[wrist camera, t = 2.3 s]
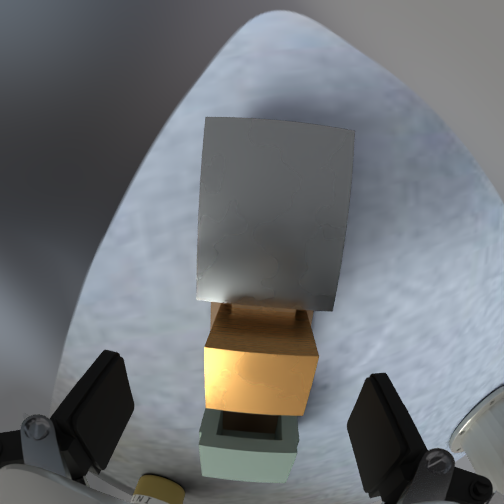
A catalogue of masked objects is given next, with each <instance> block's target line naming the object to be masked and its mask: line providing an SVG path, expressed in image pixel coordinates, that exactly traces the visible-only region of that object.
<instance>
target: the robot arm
mask: <svg viewBox="0 0 504 504" xmlns="http://www.w3.org/2000/svg"><path fill="white" fill-rule="evenodd" d="M133 411H134V401H133V397H132V393H131V390H130V385H129V381H128V377H127V373H126V368H125V364H124V359H123V358H122V357H120V354H119V353H117V352H113V351H109V350H104V351H103V352H102V353H101V354H100V355H99V357H98V358H97V359H96V360H95V362H94V363H93V364H92V365H91V366H90V368H89V369H88V370H87V371H86V373H85V374H84V375H83V376H82V378H81V379H80V380H79V381H78V382H77V384H76V385H75V386H74V387H73V389H72V390H71V391H70V393H69V394H68V395H67V396H66V398H65V399H64V400H63V402H62V403H61V404H60V406H59V407H58V408H57V410H56V411H55V412H54V414H53V415H52V416H51V418H50V419H49V418H48V417H46V416H44V415H40V414H37V415H36V414H35V415H31V416H29V417H27V418H26V419H25V420H24V421H23V422H22V424H21V429H20V430H16V431H10V432H3V433H0V504H134V503H131V502H128V501H125V500H122V499H119V498H116V497H113V496H110V495H108V494H105V493H102V492H100V491H97V490H94V489H92V488H90V487H89V484H88V481H87V479H86V474H87V472H88V471H90V472H93V473H95V474H98V475H99V473H100V471H101V470H105V469H106V467H107V465H108V462H109V460H110V458H111V456H112V454H113V452H114V450H115V448H116V446H117V443H118V441H119V439H120V437H121V435H122V433H123V431H124V429H125V427H126V425H127V423H128V421H129V419H130V417H131V415H132V413H133ZM347 430H348V433H349V437H350V440H351V444H352V447H353V451H354V455H355V458H356V462H357V466H358V469H359V473H360V477H361V481H362V484H363V488H364V491H365V492H366V493H369V497H370V498H373V497H377V496H381V498H382V501H383V502H382V503H381V504H504V386H502V387H500V388H499V389H497V390H496V391H494V392H493V393H491V394H490V395H489V396H488V397H486V398H485V399H484V400H483V401H482V402H481V403H479V404H478V405H477V406H476V407H475V408H474V409H473V410H472V411H471V412H470V413H469V414H468V415H467V416H466V417H465V418H464V420H463V421H462V422H461V423H460V424H459V426H458V427H457V428H456V430H455V431H454V433H453V434H452V436H451V439H450V441H449V447H450V449H451V451H452V452H454V453H460V452H463V451H465V453H466V455H467V457H468V459H469V460H470V462H471V464H472V466H473V468H474V470H475V472H476V474H475V473H472V472H469V471H466V470H463V469H460V468H457V467H455V461H454V458H453V456H452V455H451V454H450V453H449V452H448V451H446V450H444V449H440V448H434V449H431V450H427V448H426V446H425V444H424V442H423V440H422V438H421V436H420V434H419V432H418V430H417V428H416V426H415V424H414V422H413V420H412V418H411V416H410V415H409V413H408V411H407V409H406V407H405V405H404V404H403V403H402V401H401V399H400V397H399V395H398V393H397V392H396V390H395V388H394V386H393V384H392V382H391V381H390V379H389V377H388V375H387V374H386V373H375V374H371V375H370V377H368V378H366V380H365V382H364V384H363V387H362V389H361V392H360V394H359V397H358V399H357V402H356V404H355V406H354V408H353V411H352V413H351V415H350V417H349V420H348V422H347Z"/></svg>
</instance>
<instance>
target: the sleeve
mask: <svg viewBox="0 0 504 504" xmlns="http://www.w3.org/2000/svg"><path fill="white" fill-rule="evenodd" d="M354 137H355V131H353V130H348V129H342V128H336V127H330V126H323V125H316V124H309V123H300V122H291V121H281V120H270V119H256V118H235V117H206V118H205V128H204V139H203V151H202V164H201V178H200V195H199V214H198V239H197V290H196V300H200V301H209V302H218V303H228V304H237V305H248V306H259V307H271V308H284V309H298V310H314V311H333V306H334V301H335V296H336V291H337V285H338V280H339V274H340V268H341V262H342V255H343V249H344V242H345V235H346V227H347V219H348V211H349V202H350V192H351V181H352V169H353V155H354Z"/></svg>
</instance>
